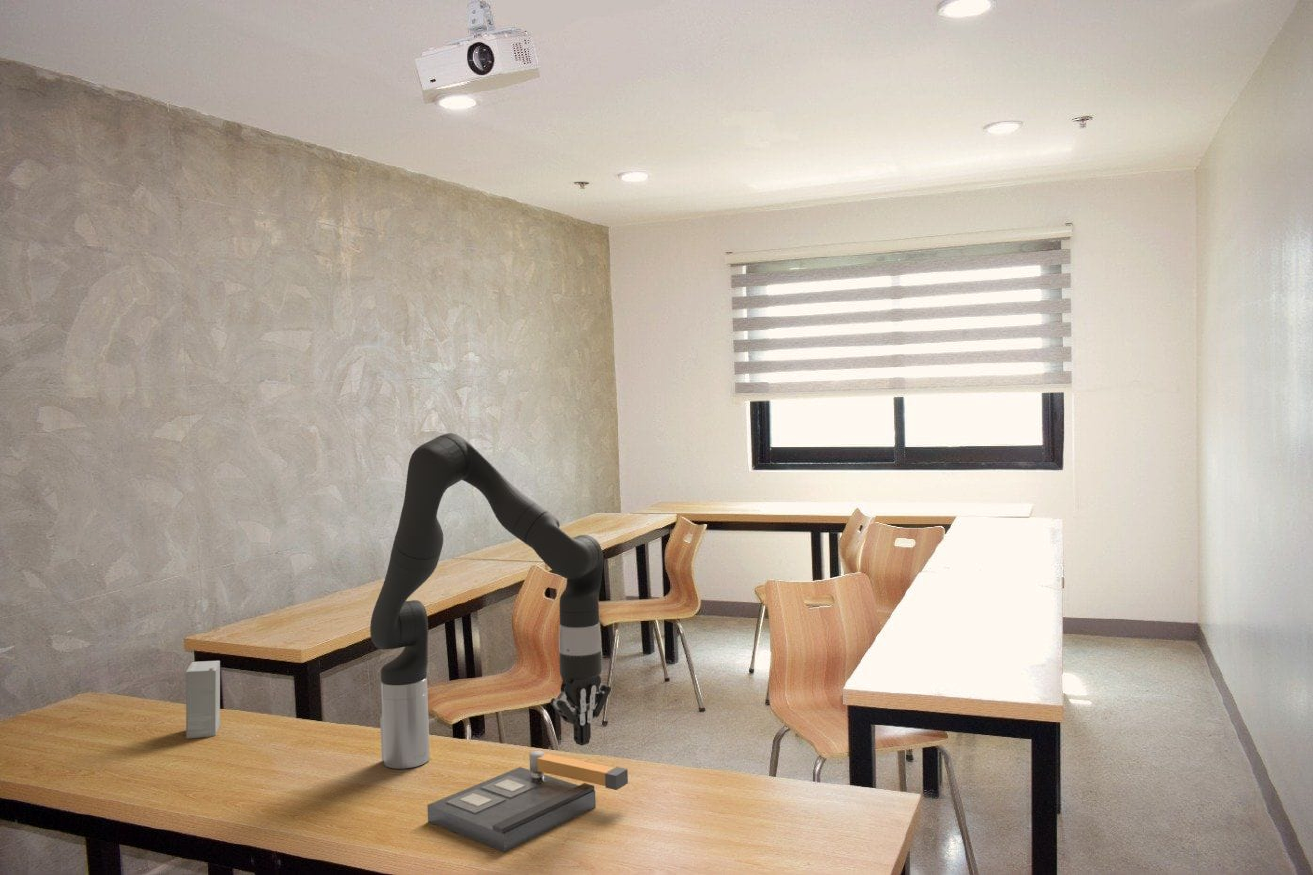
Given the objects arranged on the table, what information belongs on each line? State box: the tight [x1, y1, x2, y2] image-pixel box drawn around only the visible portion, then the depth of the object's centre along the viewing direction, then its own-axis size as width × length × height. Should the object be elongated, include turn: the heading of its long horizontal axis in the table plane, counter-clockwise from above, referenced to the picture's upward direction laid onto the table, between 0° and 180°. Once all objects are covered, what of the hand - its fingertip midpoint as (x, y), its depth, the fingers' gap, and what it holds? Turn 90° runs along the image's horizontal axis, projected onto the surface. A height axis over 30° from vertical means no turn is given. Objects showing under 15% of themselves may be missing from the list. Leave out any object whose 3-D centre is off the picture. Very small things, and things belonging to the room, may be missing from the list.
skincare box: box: [185, 660, 221, 740], centre depth 224 cm, size 8×7×16 cm
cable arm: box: [528, 750, 629, 791], centre depth 179 cm, size 4×21×3 cm, turn 58°
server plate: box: [426, 766, 597, 853], centre depth 173 cm, size 20×22×4 cm
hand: (582, 743), depth 174 cm, fingers closed
